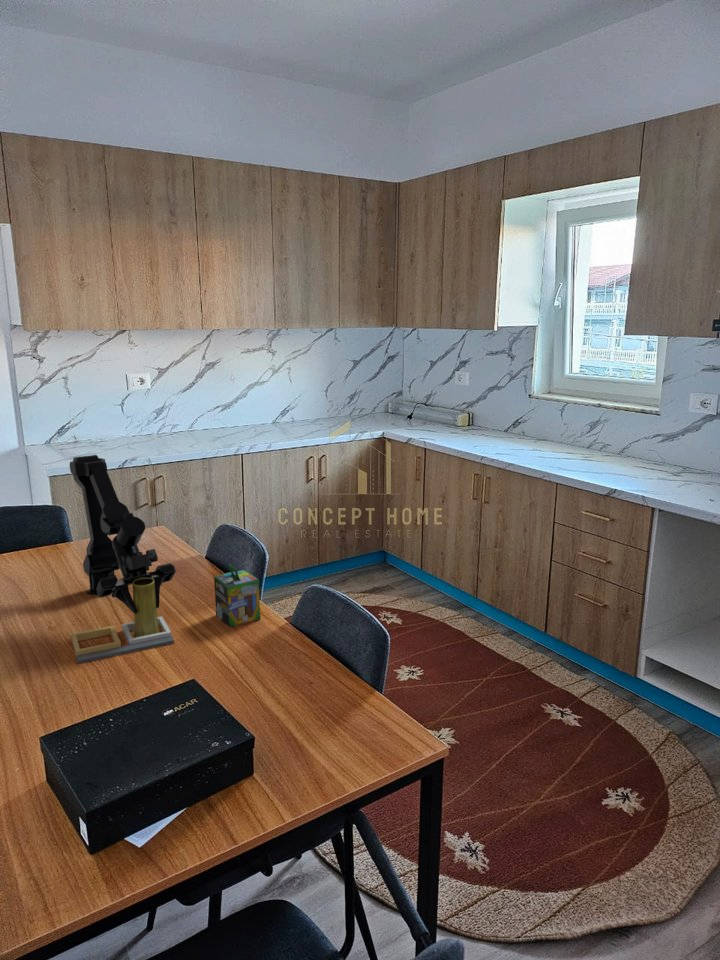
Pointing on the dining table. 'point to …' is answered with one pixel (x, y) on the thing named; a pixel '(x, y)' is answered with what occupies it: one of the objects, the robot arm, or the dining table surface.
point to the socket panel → (115, 646)
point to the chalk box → (237, 597)
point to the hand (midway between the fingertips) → (147, 610)
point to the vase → (145, 607)
